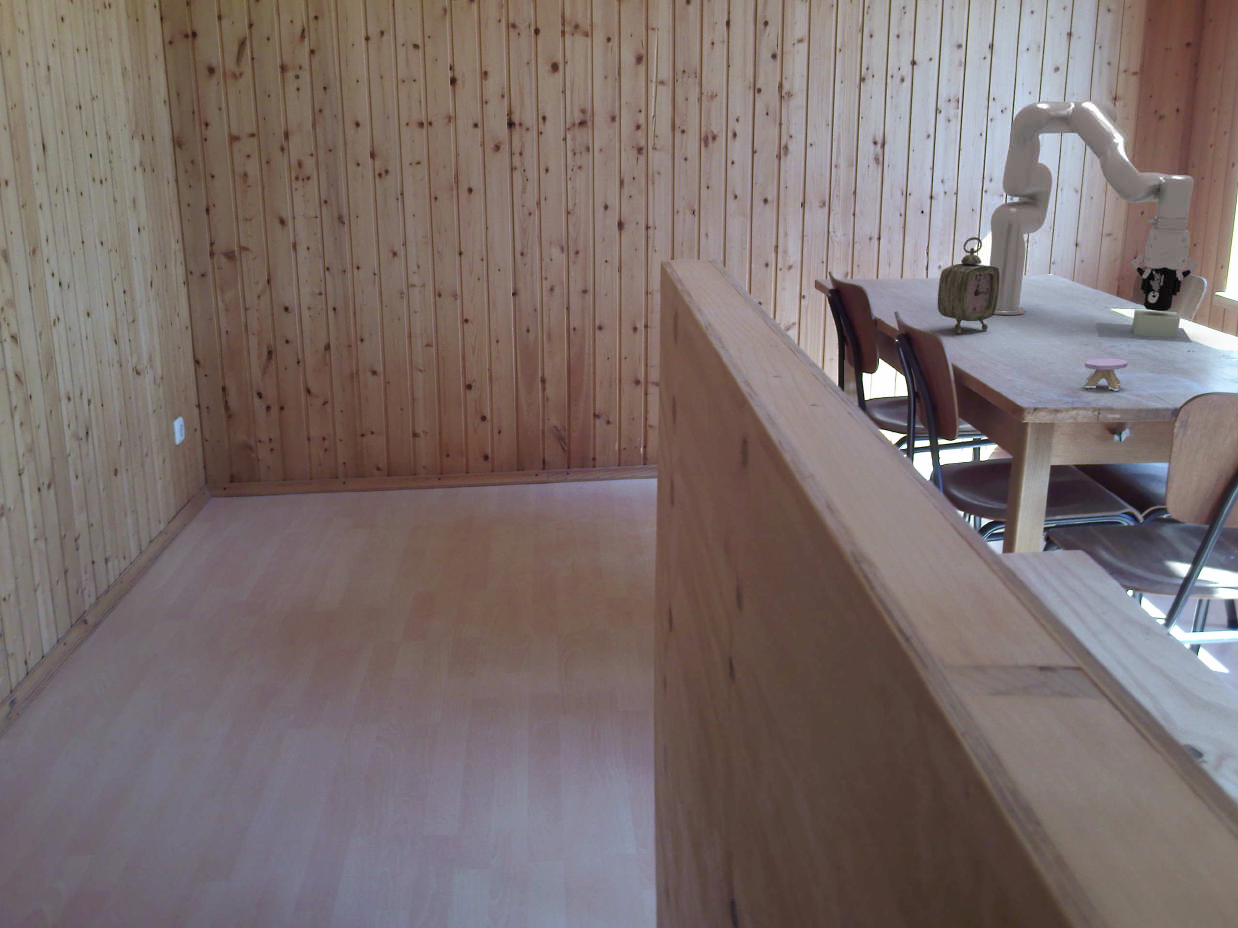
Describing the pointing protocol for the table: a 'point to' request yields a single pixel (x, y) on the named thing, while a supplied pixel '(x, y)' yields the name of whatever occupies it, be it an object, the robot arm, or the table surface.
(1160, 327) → the plinth
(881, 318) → the table surface
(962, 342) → the table surface
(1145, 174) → the robot arm
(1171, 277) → the beverage can
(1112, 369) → the toy table
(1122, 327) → the board
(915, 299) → the table surface
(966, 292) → the tabletop clock
